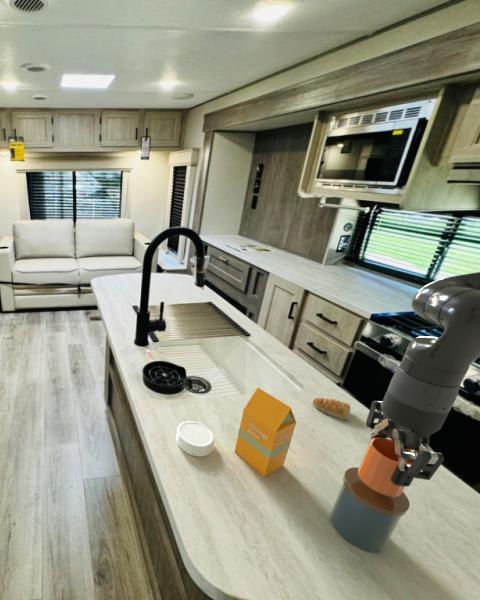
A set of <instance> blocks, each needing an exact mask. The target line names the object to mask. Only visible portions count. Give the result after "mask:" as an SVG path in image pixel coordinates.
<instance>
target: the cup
mask: <svg viewBox="0 0 480 600" xmlns="http://www.w3.org/2000/svg"><path fill="white" fill-rule="evenodd" d="M370 439H371V438H370ZM370 439H369V441H370V442H369V441H368V443H367V447H366V449H365V452H364V454H363V456H362V459H361V461H360V464H359V466H358V476H359V477H360V479H361V480H362V481H363V482H364V483H365V484H366V485H367V486H368V487H370V488H371V489H373V490H374V491H376V492H378V493H380V494H383V495H386V496H390V497H397V496H400V495H401V494H402V492H404V490H405V488H406V487H404V486H398V485H394V484H393V482H392V481H391V478H392V476H393V474H394V472H395V470H396V468H397V467H398V456H397V455H396V454H395V444H394V443H393V441H392V440H391V439H390V438H381V437H376V438H372V439H371V440H370ZM403 451H404V452H408V453H413V452H414V451H413V450H408V449H403ZM407 464H408V465H411V464H412V463H411V459H409V458H408V459H407Z"/></svg>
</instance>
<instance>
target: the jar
mask: <svg viewBox="0 0 480 600" xmlns="http://www.w3.org/2000/svg"><path fill="white" fill-rule="evenodd" d="M358 468H359V466H357V467H349V468H348V469H346V470H345V471H344V473H343V476H342V484H341V487H340V490H339V492H338V494H337V496H336V498H335V502H334V504H333V505H332V508H331V511H330V513H329V514H330V515H329V517H330V522H331V524H332V526H333V528H334V529H335V531H336V532H337V533H338V534H339V535H340V536H341V537H342V539H344V540H345V541H346V542H348V543H349V544H351V545H352V546H354V547H356V548H358V549H360V550H362V551H364V552H368V553H374V554H375V553H380V552H383V551H384V550H385V548H386V546H387V545H388V543H389V541H390V539H391V537H392V536H393V534H394V531H395V529H396V528H397V526H398V524H399V522H400V520H401V518H402V517H403V516H405V515H406V514H407V512H408V511H409V509H410V505H411V504H410V500H409V498H408V496H407V495H406V493H405V492H404V491H403V492H402V494H401V495H400V496H397V497H390V496H386V495H383V494H380V493H378V492H376V491H374V490H373V489H371V488H370V487H368V486H367V485H366V484H365V483H364V482H363V481H362V480H361V479H360V477H359V476H358Z"/></svg>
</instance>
